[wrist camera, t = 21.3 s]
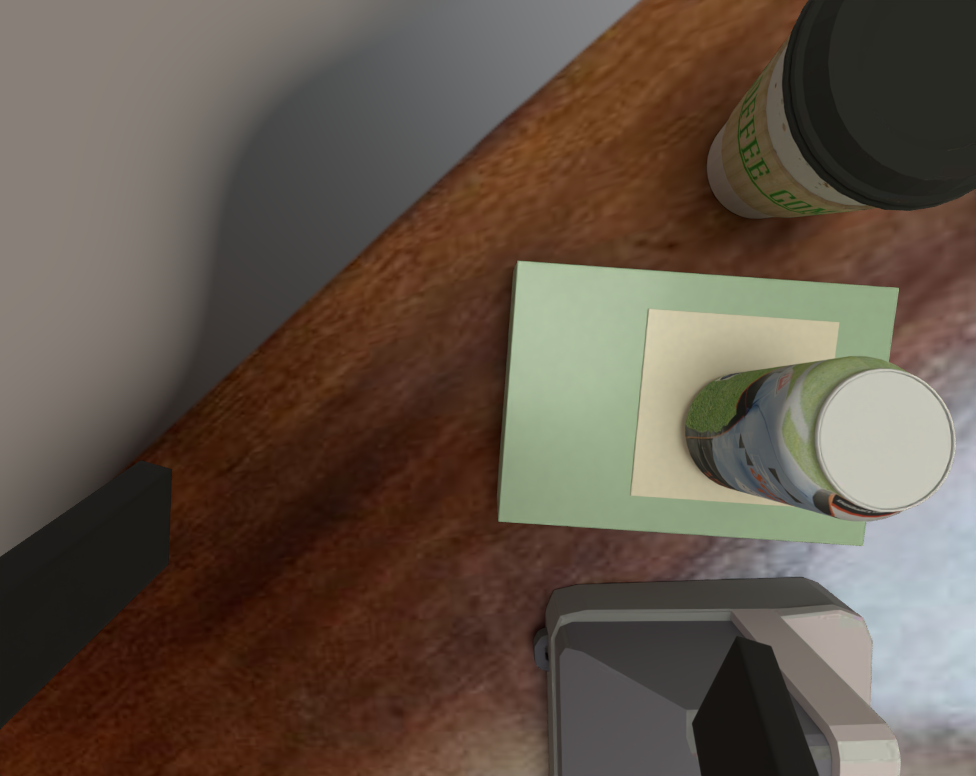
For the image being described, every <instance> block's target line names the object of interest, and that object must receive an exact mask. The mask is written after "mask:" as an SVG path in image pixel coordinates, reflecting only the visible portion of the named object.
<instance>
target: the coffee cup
mask: <svg viewBox="0 0 976 776" xmlns="http://www.w3.org/2000/svg"><path fill="white" fill-rule="evenodd" d="M707 175H708V181H709V184H710V187H711V189H712V191H713V193H714V195H715V197H716V198H717V199H718V201H719V202H720V203H721V204H722V205H723V206H724V207H725V208H727V209H728V210H729V211H731V212H733V213H735V214H737V215H739V216H742V217H746V218H752V219H762V218H770V217H782V218H793V217H802V216H812V215H821V214H830V213H839V212H849V211H858V210H866V209H872V208H880V209H884V210H904V211H911V210H918V209H924V208H930V207H935V206H938V205H941V204H944V203H946V202H949V201H952V200H955V199H957V198H959V197H962V196H963V195H965V194H967V193H969V192H970V191H972V190H974V189H975V188H976V0H808V2H807V3H806V4H805V6H804V7H803V9H802V11H801V13H800V15H799V17H798V19H797V21H796V23H795V25H794V27H793V30H792V32H791V35H790V36H789V37H788V39H787V40H786V41H785V42H784V44H783V45H782V46H781V48H780V49H779V50H778V52H777V53H776V54H775V56H774V57H773V58H772V60H771V61H770V62H769V64H768V65H767V66H766V68H765V69H764V70H763V72H762V73H761V74H760V76H759V77H758V78H757V80H756V81H755V82H754V84H753V85H752V86H751V87H750V89H749V90H748V91H747V93H746V94H745V95H744V97H743V98H742V99H741V101H740V102H739V103H738V105H737V106H736V107H735V109H734V110H733V112H732V113H731V115H730V118H729V120H728V121H727V123H726V124H725V125H724V126H723V128H722V129H721V130H720V132H719V133H718V134H717V136H716V137H715V139H714V141H713V143H712V145H711V147H710V150H709V154H708V158H707Z"/></svg>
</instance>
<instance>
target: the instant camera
mask: <svg viewBox="0 0 976 776" xmlns="http://www.w3.org/2000/svg"><path fill="white" fill-rule="evenodd" d="M545 618H546V628H543V629H540V630H539V631H538V632H537V633H536V635H535V637H534V640H533V643H534V659H535V663H536V665H537V666H538V668H540V669H542V670H544V671H547V699H548V739H549V776H701V772H700V767H699V761H698V756H697V750H696V744H695V739H694V733H693V728H692V722H693V720H694V718H695V716H696V714H697V712H698V710H699V708H700V706H701V704H702V702H703V700H704V698H705V696H706V694H707V692H708V690H709V688H710V687H711V685H712V683H713V681H714V679H715V677H716V675H717V673H718V671H719V669H720V667H721V665H722V663H723V661H724V659H725V657H726V655H727V653H728V651H729V649H730V648H731V646H732V644H733V642H734V640H735V638H736V636H739V637H743V638H746V639H750V640H753V641H756V642H760V643H763V644H767V645H770V646H772V649H773V652H774V654H775V657H776V660H777V662H778V665H779V668H780V670H781V673H782V676H783V679H784V681H785V684H786V687H787V689H788V692H789V695H790V697H791V700H792V703H793V706H794V708H795V711H796V714H797V716H798V719H799V722H800V725H801V727H802V730H803V733H804V735H805V738H806V741H807V743H808V746H809V749H810V752H811V754H812V757H813V760H814V762H815V765H816V768H817V770H818V773H819V776H900V759H901V758H900V753H899V748H898V743H897V739H896V738H895V736H894V734H893V733H892V731H891V729H890V728H889V726H888V725H887V723H886V722H885V721H884V720H883V719H882V718H881V717H880V716H879V715H878V714H877V713H876V712H875V711H874V710H873V709H872V708H871V707H870V702H871V673H872V644H873V641H872V638H871V636H870V633H869V631H868V628H867V626H866V623H865V621H864V618H863V617H861V616H860V615H859V614H858V613H856V612H854V611H853V610H852V609H851V608H849V607H848V606H847V605H846V604H844V603H843V602H842V601H840V600H839V599H838V598H837V597H835V596H834V595H833V594H832V593H830V592H829V591H828V590H826V589H825V588H824V587H823V586H821V585H820V584H819V583H817V582H814V581H812V580H809V579H806V578H803V577H793V578H763V579H732V580H702V581H672V582H641V583H611V584H581V585H574V586H570V587H565V588H561V589H557V590H554V591H553V593H552V596H551V598H550V601H549V603H548V606H547V608H546V611H545ZM545 647H546V652H545Z"/></svg>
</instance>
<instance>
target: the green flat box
mask: <svg viewBox="0 0 976 776" xmlns="http://www.w3.org/2000/svg"><path fill="white" fill-rule="evenodd" d="M898 291H899V288H893V287H879V286H865V285H851V284H837V283H823V282H809V281H795V280H781V279H767V278H753V277H739V276H725V275H711V274H697V273H683V272H669V271H655V270H641V269H627V268H613V267H599V266H585V265H571V264H557V263H543V262H529V261H518V262H517V264H516V266H515V268H514V270H513V281H512V294H511V308H510V322H509V335H508V349H507V363H506V376H505V390H504V403H503V417H502V431H501V444H500V458H499V472H498V485H497V507H498V521H499V522H513V523H528V524H543V525H558V526H572V527H587V528H602V529H617V530H632V531H647V532H662V533H676V534H691V535H706V536H721V537H736V538H751V539H765V540H780V541H795V542H810V543H825V544H840V545H855V546H863V541H864V534H865V527H866V521H848V520H843V519H838V518H834V517H831V516H827V515H823V514H820V513H816V512H813V511H809V510H805V509H802V508H798V507H794V506H791V505H787V504H783V503H780V502H776V501H772V500H769V499H765V498H761V497H758V496H754V495H751V494H747V493H743V492H740V491H736V490H732V489H729V488H726V487H723V486H721V485H718V484H717V483H715V482H713V481H712V480H710V479H709V478H708V477H707V476H705V475H704V474H703V473H702V472H701V471H700V469H699V468H698V467H697V466H696V465H695V463H694V461H693V459H692V457H691V456H690V453H689V450H688V447H687V443H686V437H685V424H686V419H687V414H688V411H689V409H690V406H691V404H692V402H693V401H694V399H695V397H696V396H697V395H698V393H699V392H700V391H701V390H702V389H703V388H704V387H705V386H706V385H708V384H709V383H710V382H712V381H714V380H715V379H717V378H719V377H722V376H725V375H728V374H734V373H740V372H747V371H753V370H760V369H767V368H774V367H780V366H787V365H794V364H800V363H807V362H814V361H821V360H827V359H834V358H841V357H848V356H867V357H872V358H877V359H882V360H884V361H887V362H889V355H890V348H891V341H892V334H893V327H894V320H895V313H896V305H897V298H898Z"/></svg>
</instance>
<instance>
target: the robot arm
mask: <svg viewBox="0 0 976 776" xmlns="http://www.w3.org/2000/svg"><path fill="white" fill-rule="evenodd" d="M171 481H172V469H169V468H165V467H162V466H158V465H155V464H152V463H148V462H145V461H139V462H138V463H136V464H135V465H133V466H132V467H130V468H129V469H127V470H126V471H125V472H123V473H122V474H120V475H119V476H117V477H116V478H114V479H113V480H111V481H110V482H108V483H107V484H106V485H104V486H103V487H101V488H100V489H98V490H97V491H95V492H94V493H92V494H91V495H90V496H88V497H87V498H85V499H84V500H82V501H81V502H79V503H78V504H76V505H75V506H74V507H72V508H71V509H69V510H68V511H66V512H65V513H63V514H62V515H60V516H59V517H58V518H56V519H55V520H53V521H52V522H50V523H49V524H48V525H46V526H44V527H43V528H42V529H40V530H39V531H37V532H36V533H34V534H33V535H31V536H30V537H28V538H27V539H26V540H24V541H23V542H21V543H20V544H18V545H17V546H15V547H14V548H12V549H11V550H10V551H8V552H7V553H5V554H4V555H2V556H1V557H0V729H1V728H2V727H3V726H4V725H5V724H6V723H7V722H8V721H9V720H10V719H11V718H12V717H13V716H14V715H15V714H16V713H17V712H18V711H19V710H20V709H21V708H22V707H23V706H24V705H25V704H26V703H27V702H28V701H29V700H30V699H31V698H32V697H33V696H34V695H36V694H37V693H38V692H39V691H40V690H41V689H42V688H43V687H44V686H45V685H46V684H47V683H48V682H49V681H50V680H51V679H52V678H53V677H54V676H55V675H56V674H57V673H58V672H59V671H60V670H61V669H62V668H63V667H64V666H65V665H66V664H67V663H68V662H69V661H70V660H71V659H72V658H73V657H74V656H75V655H76V654H77V653H78V652H79V651H80V650H81V649H82V648H83V647H85V646H86V645H87V644H88V643H89V642H90V641H91V640H92V639H93V638H94V637H95V636H96V635H97V634H98V633H99V632H100V631H101V630H102V629H103V628H104V627H105V626H106V625H107V624H108V623H109V622H110V621H111V620H112V619H113V618H114V617H115V616H116V615H117V614H118V613H119V612H120V611H121V610H122V609H123V608H124V607H125V606H126V605H127V604H128V603H129V602H130V601H131V600H132V599H134V598H135V597H136V596H137V595H138V594H139V593H140V592H141V591H142V590H143V589H144V588H145V587H146V586H147V585H148V584H149V583H150V582H151V581H152V580H153V579H154V578H155V577H156V576H157V575H158V574H159V573H160V572H161V571H162V570H163V569H164V568H165V567H166V566H167V565H168V561H169V535H170V508H171ZM692 728H693V733H694V739H695V744H696V750H697V756H698V761H699V767H700V772H701V776H819V773H818V770H817V768H816V765H815V762H814V760H813V757H812V754H811V752H810V749H809V746H808V743H807V741H806V738H805V735H804V733H803V730H802V727H801V725H800V722H799V719H798V716H797V714H796V711H795V708H794V706H793V703H792V700H791V697H790V695H789V692H788V689H787V687H786V684H785V681H784V679H783V676H782V673H781V670H780V668H779V665H778V662H777V660H776V657H775V654H774V652H773V649H772V646H770V645H767V644H763V643H760V642H756V641H753V640H750V639H746V638H743V637H739V636H736V638H735V640H734V642H733V644H732V646H731V648H730V649H729V651H728V653H727V655H726V657H725V659H724V661H723V663H722V665H721V667H720V669H719V671H718V673H717V675H716V677H715V679H714V681H713V683H712V685H711V687H710V688H709V690H708V692H707V694H706V696H705V698H704V700H703V702H702V704H701V706H700V708H699V710H698V712H697V714H696V716H695V718H694V720H693V722H692Z"/></svg>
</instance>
